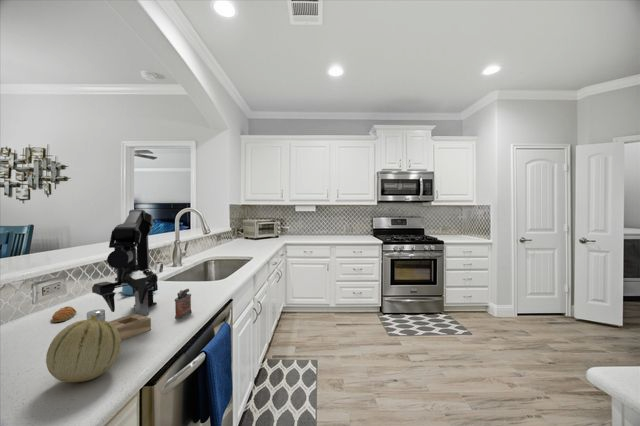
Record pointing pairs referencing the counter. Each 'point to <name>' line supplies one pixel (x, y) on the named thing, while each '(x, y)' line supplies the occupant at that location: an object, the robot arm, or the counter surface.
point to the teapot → (128, 289)
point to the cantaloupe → (83, 350)
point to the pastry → (64, 314)
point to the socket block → (131, 325)
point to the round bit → (96, 314)
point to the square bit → (141, 305)
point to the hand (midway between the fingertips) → (127, 307)
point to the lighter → (182, 304)
